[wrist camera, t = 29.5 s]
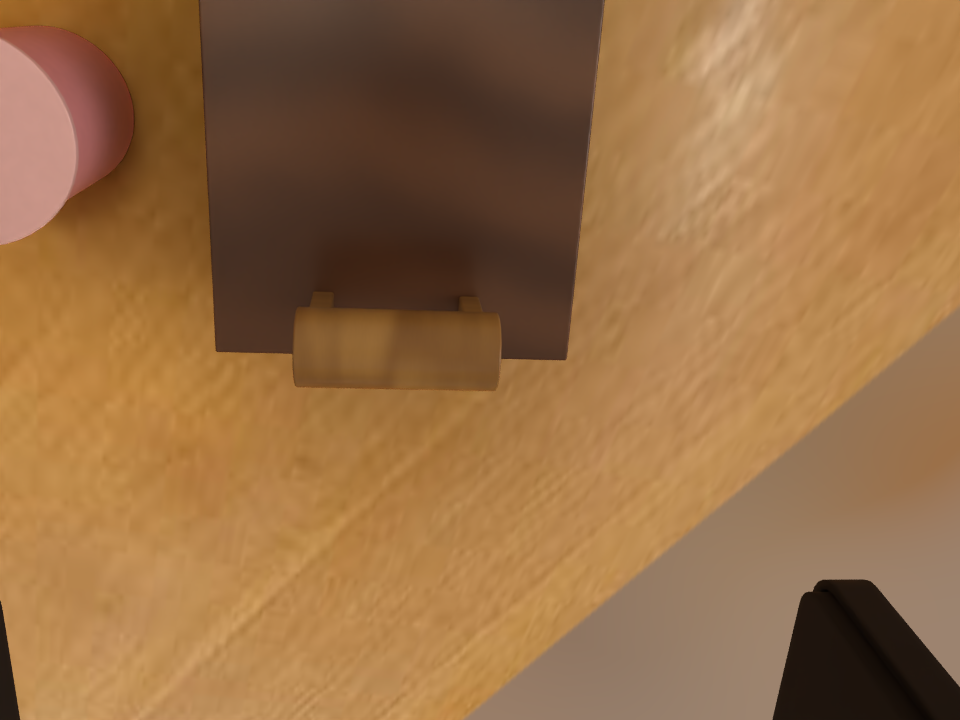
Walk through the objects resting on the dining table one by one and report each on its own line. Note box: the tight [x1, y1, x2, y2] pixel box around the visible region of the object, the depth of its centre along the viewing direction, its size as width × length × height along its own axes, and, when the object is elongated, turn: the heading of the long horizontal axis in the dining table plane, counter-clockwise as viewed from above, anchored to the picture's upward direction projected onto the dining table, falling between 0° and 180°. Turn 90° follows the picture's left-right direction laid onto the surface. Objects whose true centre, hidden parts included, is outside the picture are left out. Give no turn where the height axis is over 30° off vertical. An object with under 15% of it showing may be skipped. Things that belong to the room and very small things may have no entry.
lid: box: [199, 0, 605, 391], centre depth 26 cm, size 18×12×6 cm
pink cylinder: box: [0, 26, 134, 245], centre depth 31 cm, size 7×7×8 cm
